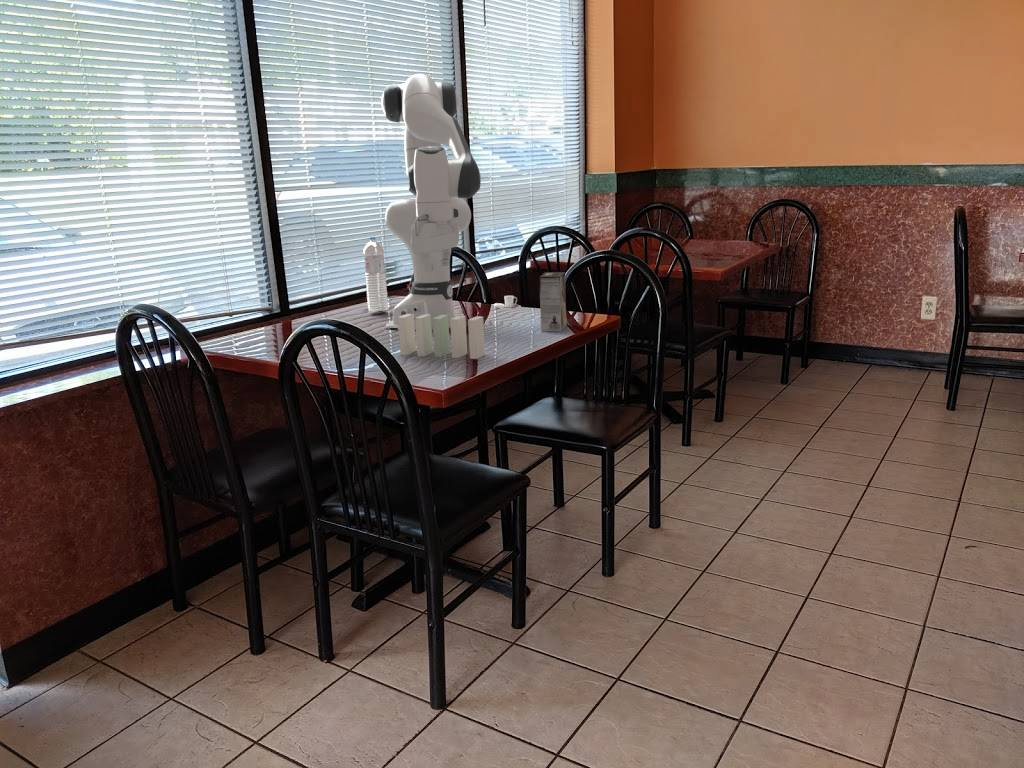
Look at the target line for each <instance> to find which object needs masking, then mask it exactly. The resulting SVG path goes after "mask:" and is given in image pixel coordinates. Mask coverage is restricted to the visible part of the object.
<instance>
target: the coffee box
mask: <svg viewBox="0 0 1024 768" xmlns="http://www.w3.org/2000/svg"><path fill="white" fill-rule="evenodd" d="M538 279H539V302H540V303H539V305H540V308H539V309H540V331H541V332H560V331H561V332H562V331H563V330H564V329H565V327H566V326H567V308H566V307H567V303H566V302H567V298H566V296H567V295H566V293H567V292H566V291H567V290H566V272H565V271H553V272H552V271H551V272H543V273H542V275H540V276H539V278H538Z"/></svg>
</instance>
